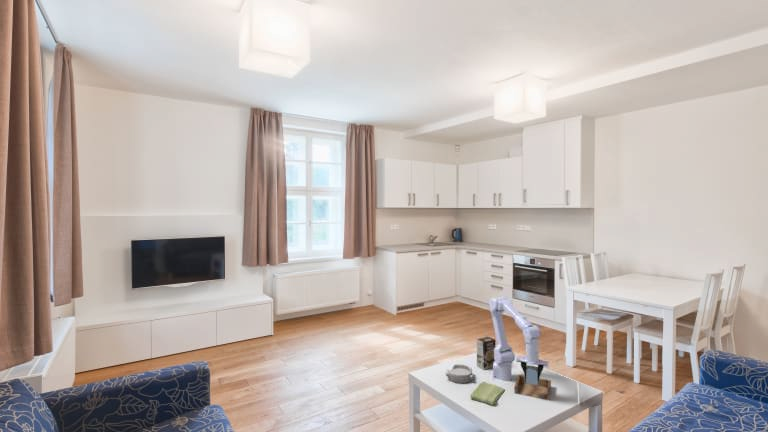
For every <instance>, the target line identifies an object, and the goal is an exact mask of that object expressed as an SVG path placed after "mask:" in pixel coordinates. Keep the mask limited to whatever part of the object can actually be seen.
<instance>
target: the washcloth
mask: <svg viewBox="0 0 768 432" xmlns="http://www.w3.org/2000/svg"><path fill="white" fill-rule="evenodd" d="M505 390H506V389H505V388H503V387H500V386H498V385H495V384H493V383H488V382H486V381H482V382H480V383H479V384H478V385H477V386H476V388H475V389H474V390H473V391H472V393H471V395H470V399H471V400H473V401H477V402H480V403H481V402H482V403H484V404H486V405H489V406H493V407H495V406H496V405H497V404H498V401H499V398H500V397H501V395H502V394H503V393H505V392H506V391H505Z"/></svg>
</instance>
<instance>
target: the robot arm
mask: <svg viewBox="0 0 768 432" xmlns="http://www.w3.org/2000/svg"><path fill="white" fill-rule="evenodd" d="M488 307H489V310H490V314H491V318H492V322H493V323H492V324H493V328H494V334H495V341H496V345H495V349H494V359H495V361H494V363H493V368H492V380H494V379H495V380H496V379H497V380H501V381H505V382H508V381H511V380H512V364H513V362H514V361H515V360H516V361H515V362H516V363H520V368H521V370H523V374H524V376H525V378H526V368H527V365H528V364H529V365H530V366H537V367H538V381H539V378H540V377H541V375H542V372H543V370H544V367H545V368H549V361H547V360H543V359H540V358H539V338H541V336H542V331H541V329H540V327H539V326H538V325H536V324H532V322H530V321H529V319H528V318H527V317H526V316H525V315H523V314H522V315H521V314H520V313H519V312H518V311H517V309H516V308H515V307H514V305H513V304H512V300H511V299H510V297H508V296H507V295H506V296H501V297H500V296H499V297H492V298H490V300H489V302H488ZM504 312H506V314H508V315H509V316H511V318H512V319H514V322H515V323H514V324H515V325H516V326H517V327H518V328H519V329H520V330H521V331H522V335H523V337H524V342H525V357H521V356H516V355H515V353H514V350H513V347H512V346H511V345H509V344H508V339H507V336H506V329H505V325H504V320H503V313H504Z"/></svg>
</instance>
